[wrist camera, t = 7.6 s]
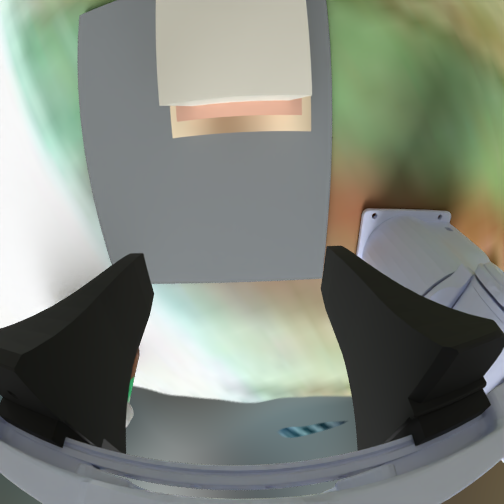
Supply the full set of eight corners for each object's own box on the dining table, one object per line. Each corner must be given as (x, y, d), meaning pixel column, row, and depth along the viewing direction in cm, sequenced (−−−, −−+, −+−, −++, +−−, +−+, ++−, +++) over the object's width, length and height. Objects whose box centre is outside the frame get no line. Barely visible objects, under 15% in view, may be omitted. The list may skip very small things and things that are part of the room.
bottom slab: (299, 20, 13) (306, 8, 10) (303, 128, 17) (311, 131, 14) (176, 27, 13) (166, 16, 10) (182, 134, 17) (172, 138, 14)
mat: (320, -16, 11) (323, -20, 11) (319, 273, 23) (321, 278, 22) (84, 17, 12) (79, 15, 11) (121, 278, 23) (118, 283, 23)
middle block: (290, 20, 11) (296, 6, 9) (293, 114, 14) (302, 115, 12) (183, 27, 11) (172, 14, 9) (188, 119, 14) (176, 121, 12)
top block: (284, 16, 9) (302, -27, 5) (289, 100, 11) (312, 95, 7) (187, 23, 9) (156, -15, 5) (192, 106, 11) (159, 105, 7)
